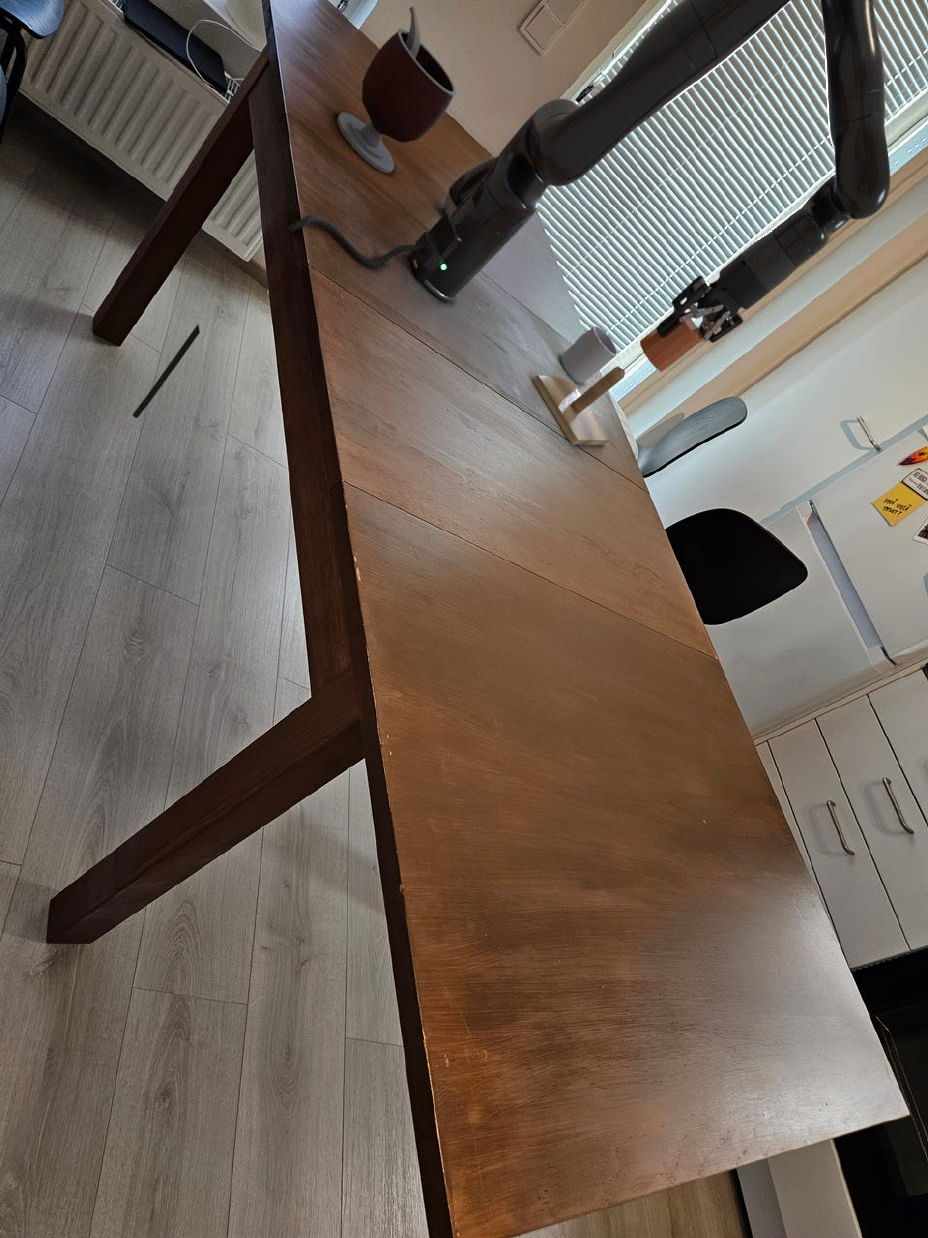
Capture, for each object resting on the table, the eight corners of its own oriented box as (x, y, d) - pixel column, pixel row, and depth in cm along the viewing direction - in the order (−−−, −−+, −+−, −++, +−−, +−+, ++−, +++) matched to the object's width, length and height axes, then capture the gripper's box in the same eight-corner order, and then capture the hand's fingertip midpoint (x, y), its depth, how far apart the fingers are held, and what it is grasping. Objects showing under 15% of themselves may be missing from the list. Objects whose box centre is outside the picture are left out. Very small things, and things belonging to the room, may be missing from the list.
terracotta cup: (648, 363, 132) (689, 330, 127) (635, 335, 135) (674, 302, 130) (668, 377, 136) (707, 346, 132) (654, 349, 139) (693, 318, 135)
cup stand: (571, 444, 142) (628, 399, 135) (532, 380, 144) (586, 332, 137) (603, 445, 153) (657, 403, 146) (566, 385, 155) (618, 341, 148)
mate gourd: (407, 183, 148) (482, 93, 137) (360, 165, 136) (438, 64, 125) (364, 117, 149) (435, 22, 138) (315, 93, 138) (388, -12, 127)
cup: (562, 371, 158) (597, 341, 153) (555, 340, 164) (588, 310, 159) (585, 390, 162) (620, 361, 157) (577, 360, 168) (610, 331, 163)
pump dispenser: (474, 252, 155) (531, 192, 147) (434, 214, 150) (491, 149, 142) (475, 231, 162) (530, 172, 154) (437, 193, 157) (491, 130, 149)
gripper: (766, 274, 131) (681, 342, 140) (728, 231, 121) (639, 307, 130) (786, 306, 128) (698, 373, 137) (748, 265, 117) (656, 341, 127)
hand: (669, 341), depth 133 cm, fingers closed on terracotta cup, 6 cm apart
